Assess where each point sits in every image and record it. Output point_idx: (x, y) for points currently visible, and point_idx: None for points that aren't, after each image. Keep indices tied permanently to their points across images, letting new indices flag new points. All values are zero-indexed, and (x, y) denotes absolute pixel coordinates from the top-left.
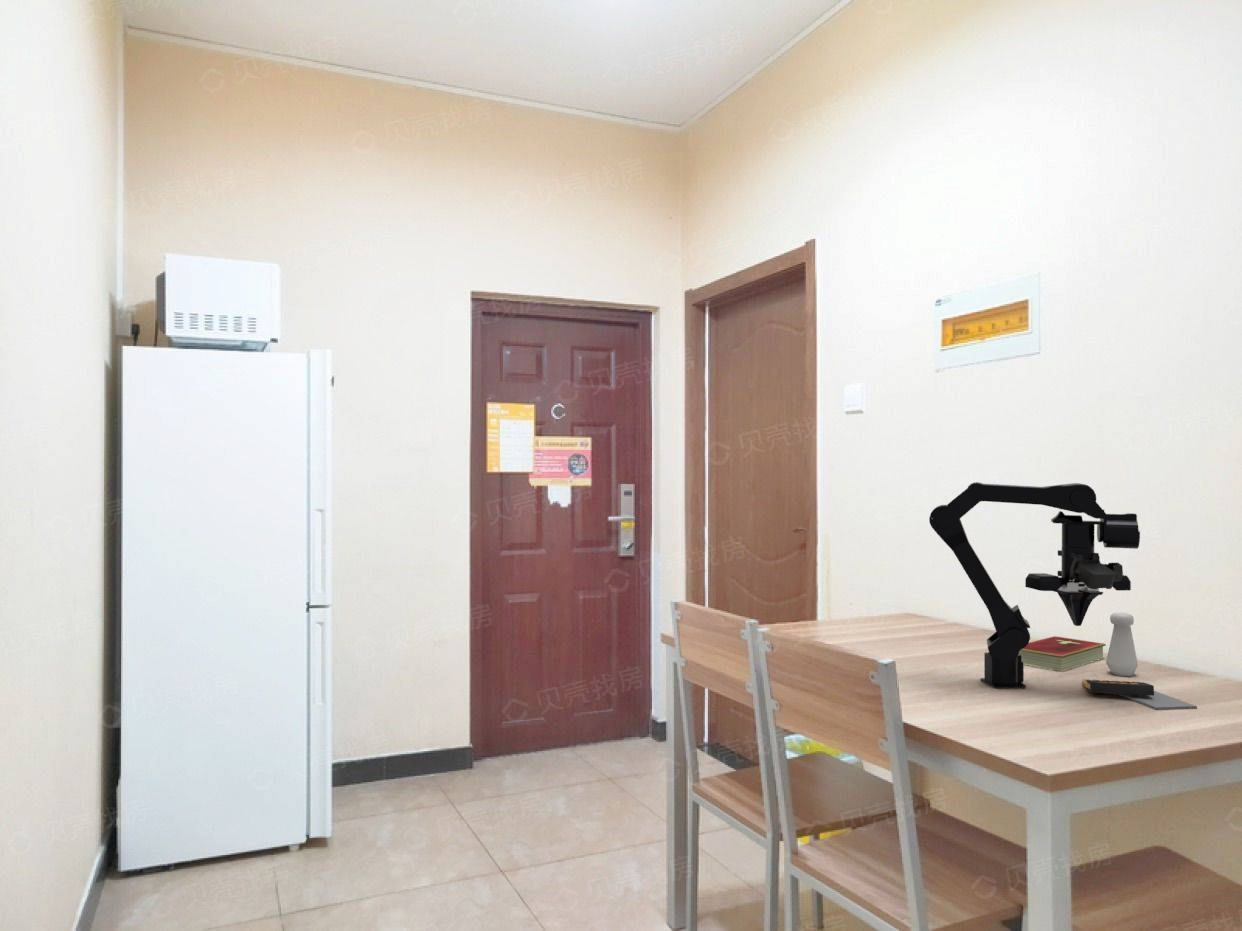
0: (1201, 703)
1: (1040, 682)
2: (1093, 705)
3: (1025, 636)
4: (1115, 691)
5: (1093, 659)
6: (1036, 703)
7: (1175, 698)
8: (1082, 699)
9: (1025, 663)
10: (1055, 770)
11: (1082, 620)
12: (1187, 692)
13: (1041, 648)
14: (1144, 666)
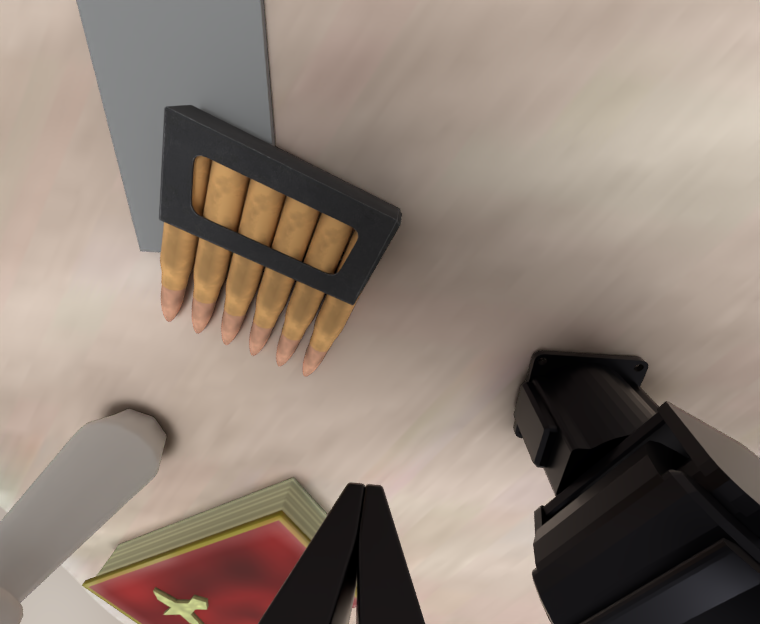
0: (28, 58)
1: (433, 399)
2: (476, 94)
3: (703, 486)
4: (321, 172)
5: (151, 536)
6: (677, 160)
7: (106, 113)
8: (451, 189)
9: None
10: None
11: (333, 516)
12: (24, 220)
13: None
14: None
